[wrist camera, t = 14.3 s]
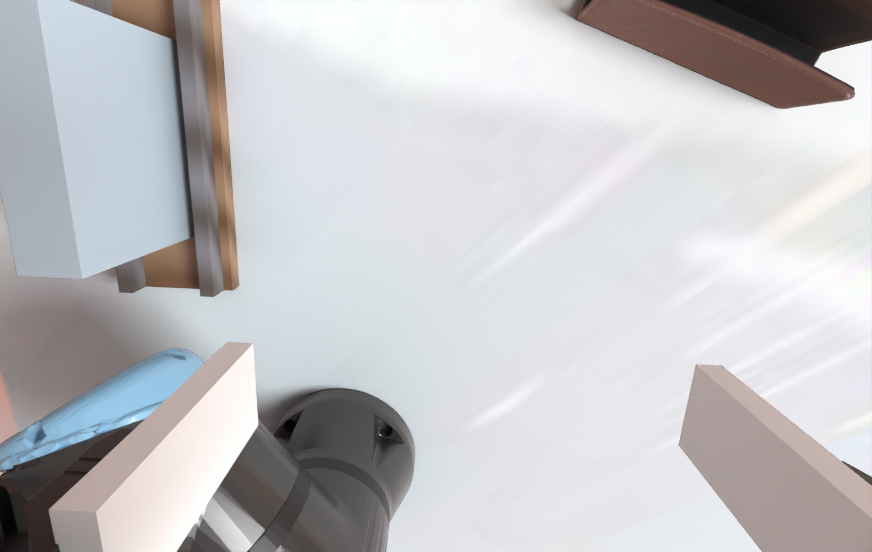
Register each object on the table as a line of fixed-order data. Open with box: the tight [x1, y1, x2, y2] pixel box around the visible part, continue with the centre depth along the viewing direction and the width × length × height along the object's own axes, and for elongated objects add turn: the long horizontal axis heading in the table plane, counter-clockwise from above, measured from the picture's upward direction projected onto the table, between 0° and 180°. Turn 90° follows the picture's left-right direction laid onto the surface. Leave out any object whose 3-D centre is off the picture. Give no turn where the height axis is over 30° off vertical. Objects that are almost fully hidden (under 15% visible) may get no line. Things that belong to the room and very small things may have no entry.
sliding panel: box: [0, 0, 195, 279], centre depth 34 cm, size 16×4×14 cm, turn 178°
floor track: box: [78, 0, 239, 297], centre depth 40 cm, size 26×10×4 cm, turn 178°
